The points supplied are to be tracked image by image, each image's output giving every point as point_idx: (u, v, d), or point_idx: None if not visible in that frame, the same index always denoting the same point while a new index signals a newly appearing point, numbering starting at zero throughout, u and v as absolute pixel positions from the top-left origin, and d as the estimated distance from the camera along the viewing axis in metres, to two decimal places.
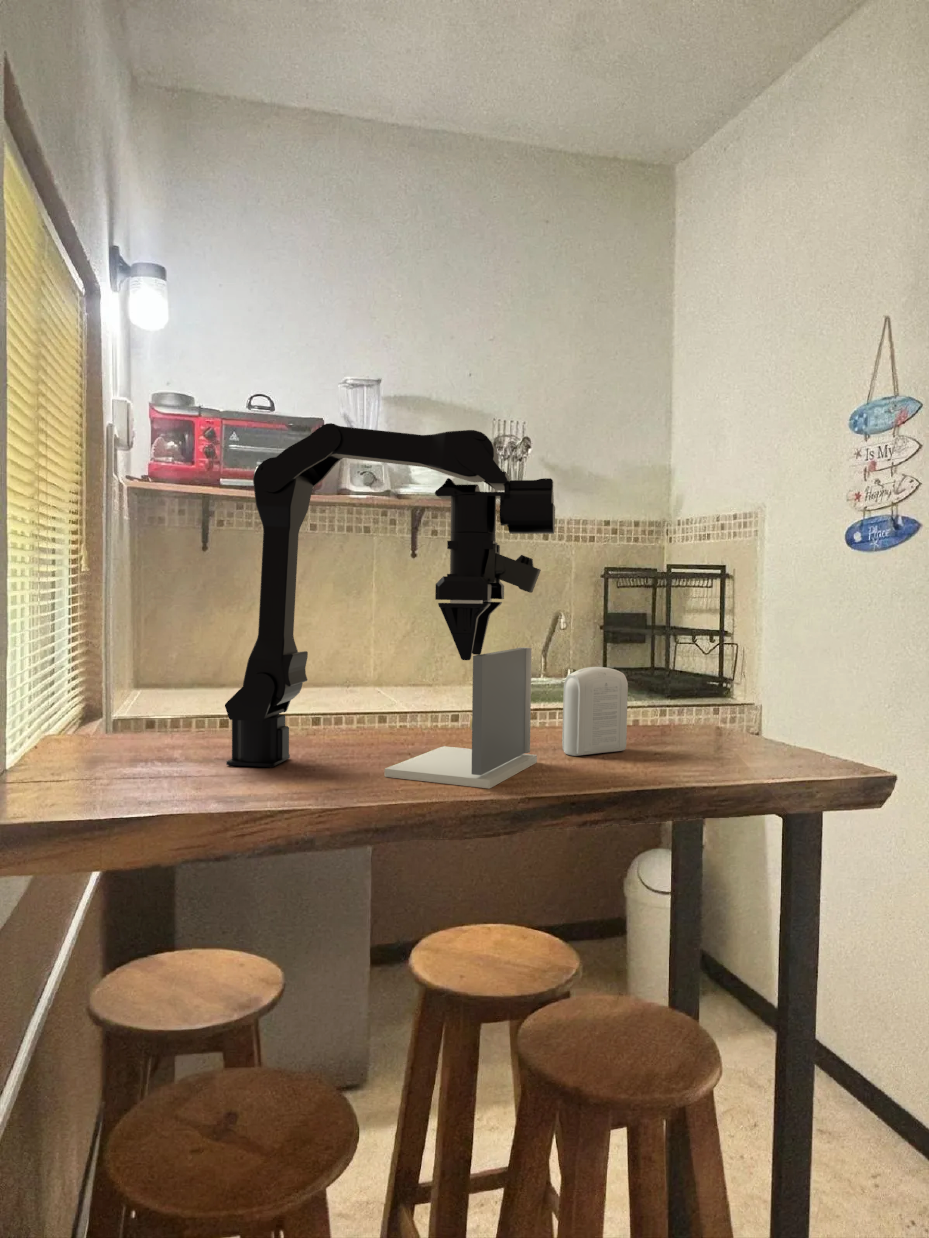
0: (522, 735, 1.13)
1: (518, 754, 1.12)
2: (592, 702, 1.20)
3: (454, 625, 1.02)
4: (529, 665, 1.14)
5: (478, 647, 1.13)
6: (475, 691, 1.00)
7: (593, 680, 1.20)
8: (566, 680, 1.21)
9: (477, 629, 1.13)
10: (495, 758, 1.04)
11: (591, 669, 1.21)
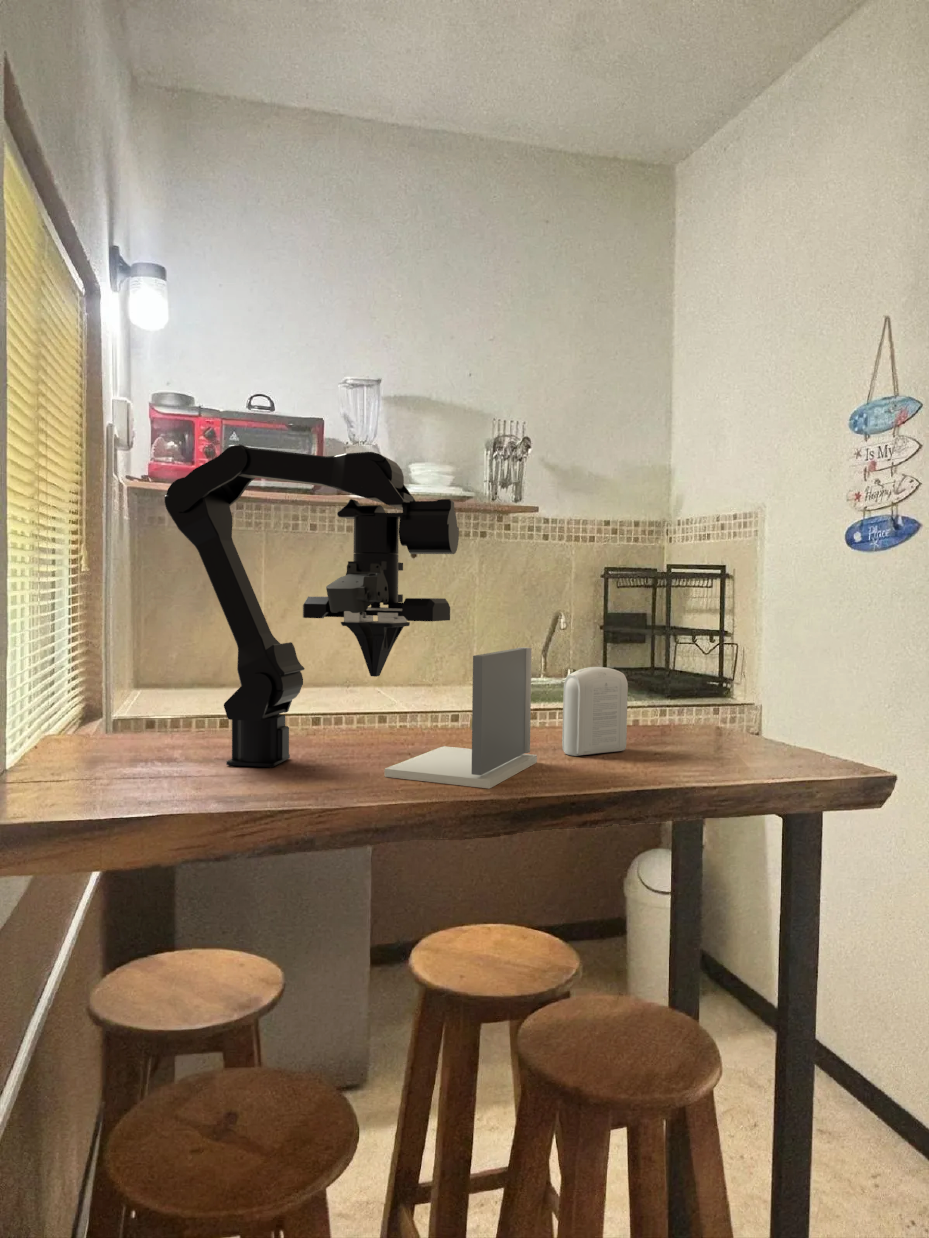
0: (522, 735, 1.13)
1: (518, 754, 1.12)
2: (592, 702, 1.20)
3: None
4: (529, 665, 1.14)
5: None
6: (475, 691, 1.00)
7: (593, 680, 1.20)
8: (566, 680, 1.21)
9: None
10: (495, 758, 1.04)
11: (591, 669, 1.21)
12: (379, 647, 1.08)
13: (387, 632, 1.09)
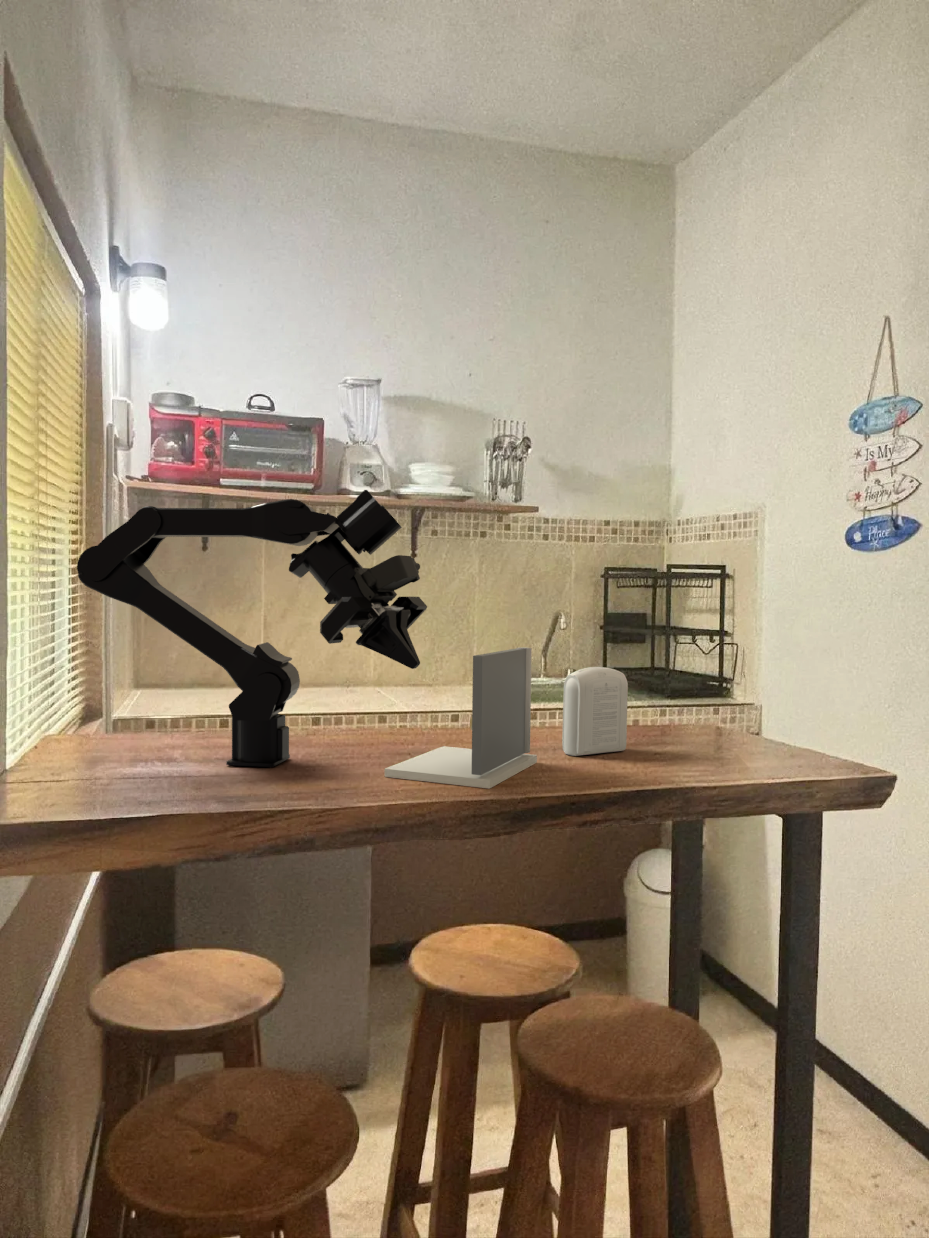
0: (522, 735, 1.13)
1: (518, 754, 1.12)
2: (592, 702, 1.20)
3: (383, 648, 1.08)
4: (529, 665, 1.14)
5: None
6: (475, 691, 1.00)
7: (593, 680, 1.20)
8: (566, 680, 1.21)
9: None
10: (495, 758, 1.04)
11: (591, 669, 1.21)
12: (409, 637, 1.09)
13: None
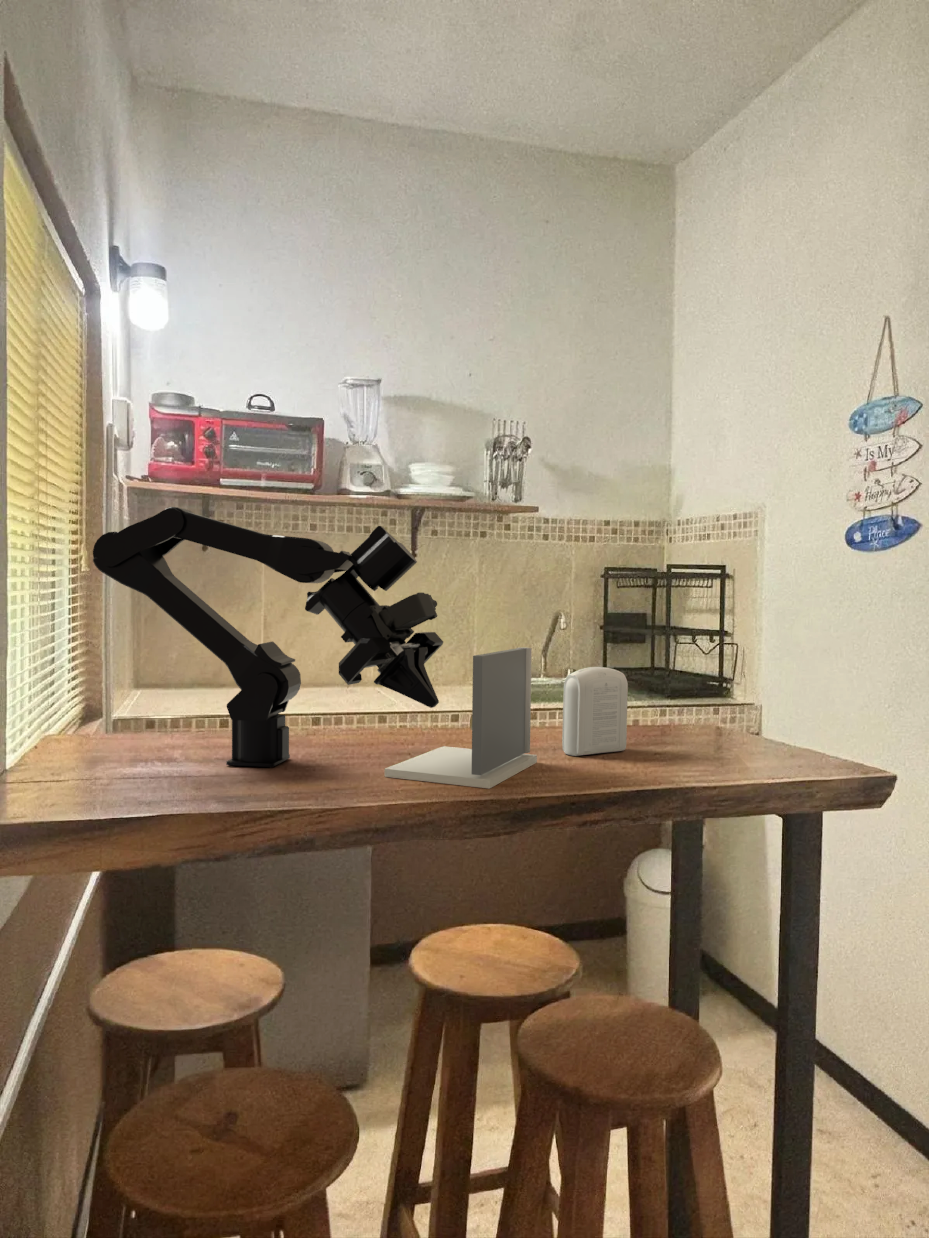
0: (522, 735, 1.13)
1: (518, 754, 1.12)
2: (592, 702, 1.20)
3: (402, 687, 1.07)
4: (529, 665, 1.14)
5: None
6: (475, 691, 1.00)
7: (593, 680, 1.20)
8: (566, 680, 1.21)
9: None
10: (495, 758, 1.04)
11: (591, 669, 1.21)
12: (427, 675, 1.09)
13: None
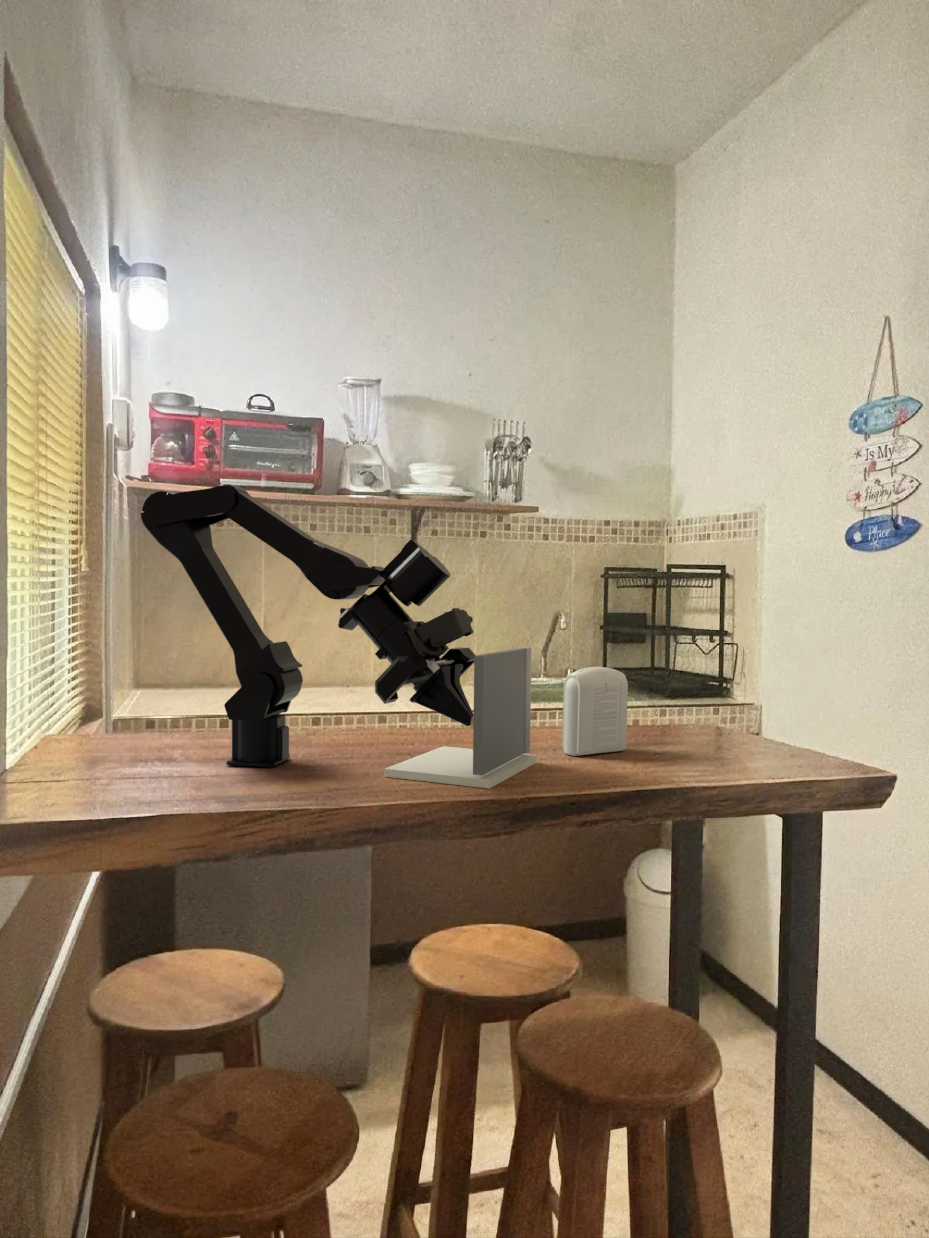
0: (522, 735, 1.13)
1: (518, 754, 1.12)
2: (592, 702, 1.20)
3: (438, 705, 1.05)
4: (529, 665, 1.14)
5: None
6: (476, 691, 1.00)
7: (593, 680, 1.20)
8: (566, 680, 1.21)
9: None
10: (496, 758, 1.04)
11: (591, 669, 1.21)
12: (463, 692, 1.07)
13: None
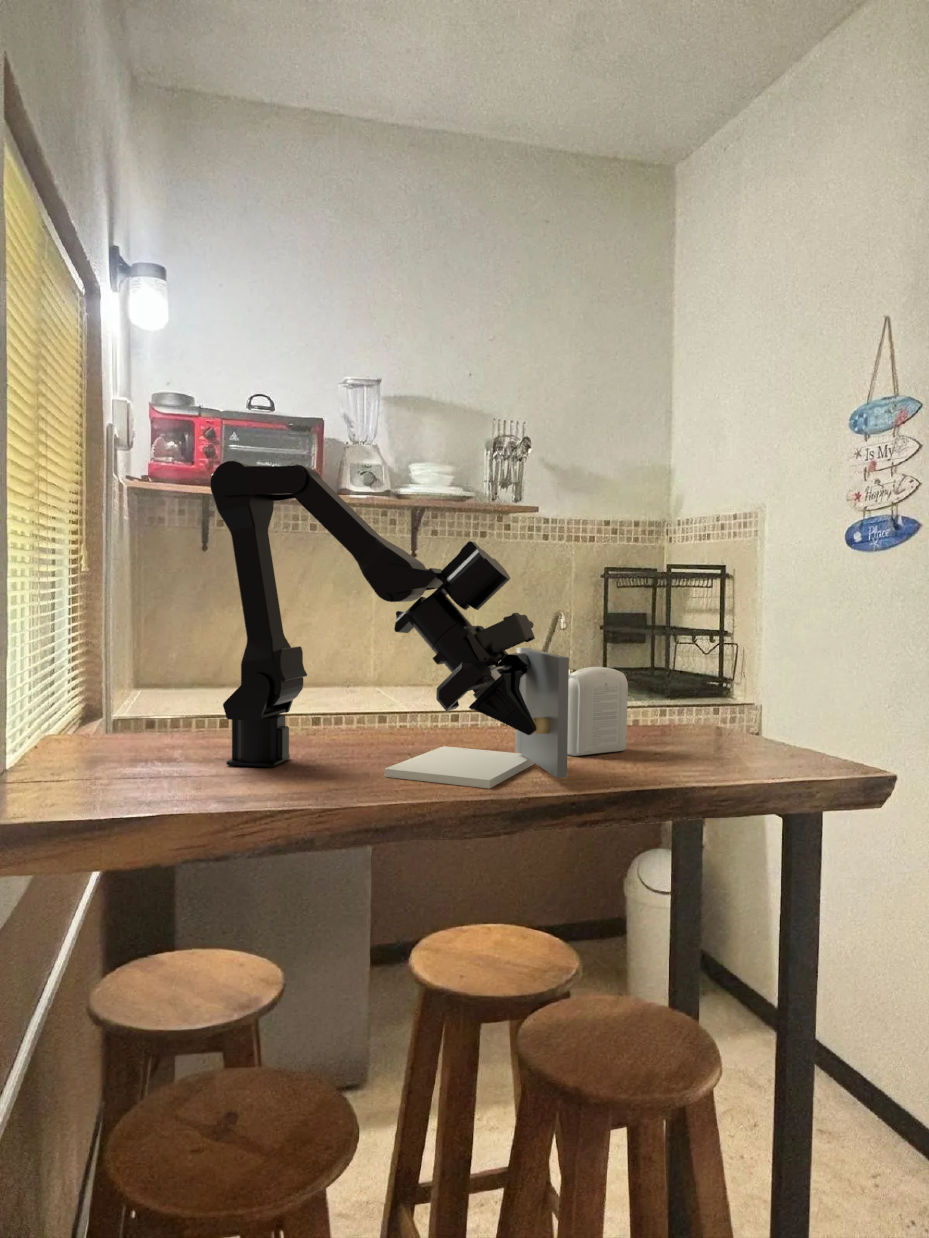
0: None
1: None
2: (592, 702, 1.20)
3: (498, 713, 1.02)
4: None
5: None
6: (561, 693, 0.99)
7: (593, 680, 1.20)
8: None
9: None
10: None
11: (591, 669, 1.21)
12: (523, 700, 1.03)
13: None
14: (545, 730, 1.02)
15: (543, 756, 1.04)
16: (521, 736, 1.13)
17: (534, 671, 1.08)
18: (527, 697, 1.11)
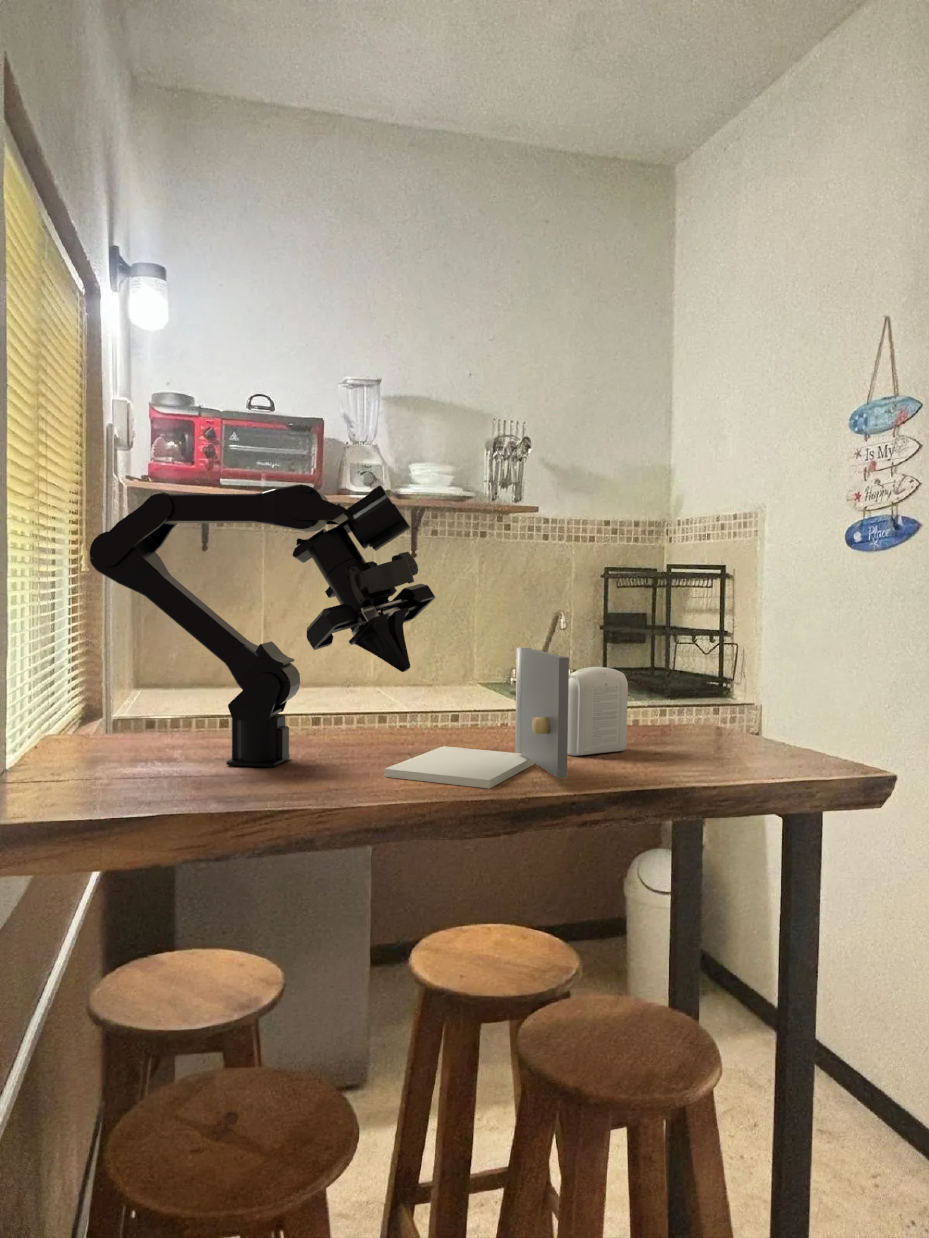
0: None
1: None
2: (592, 702, 1.20)
3: (375, 650, 1.09)
4: None
5: None
6: (561, 693, 0.99)
7: (593, 680, 1.20)
8: None
9: None
10: None
11: (591, 669, 1.21)
12: (403, 637, 1.09)
13: None
14: (545, 730, 1.02)
15: (543, 756, 1.04)
16: (521, 736, 1.13)
17: (534, 671, 1.08)
18: (527, 697, 1.11)
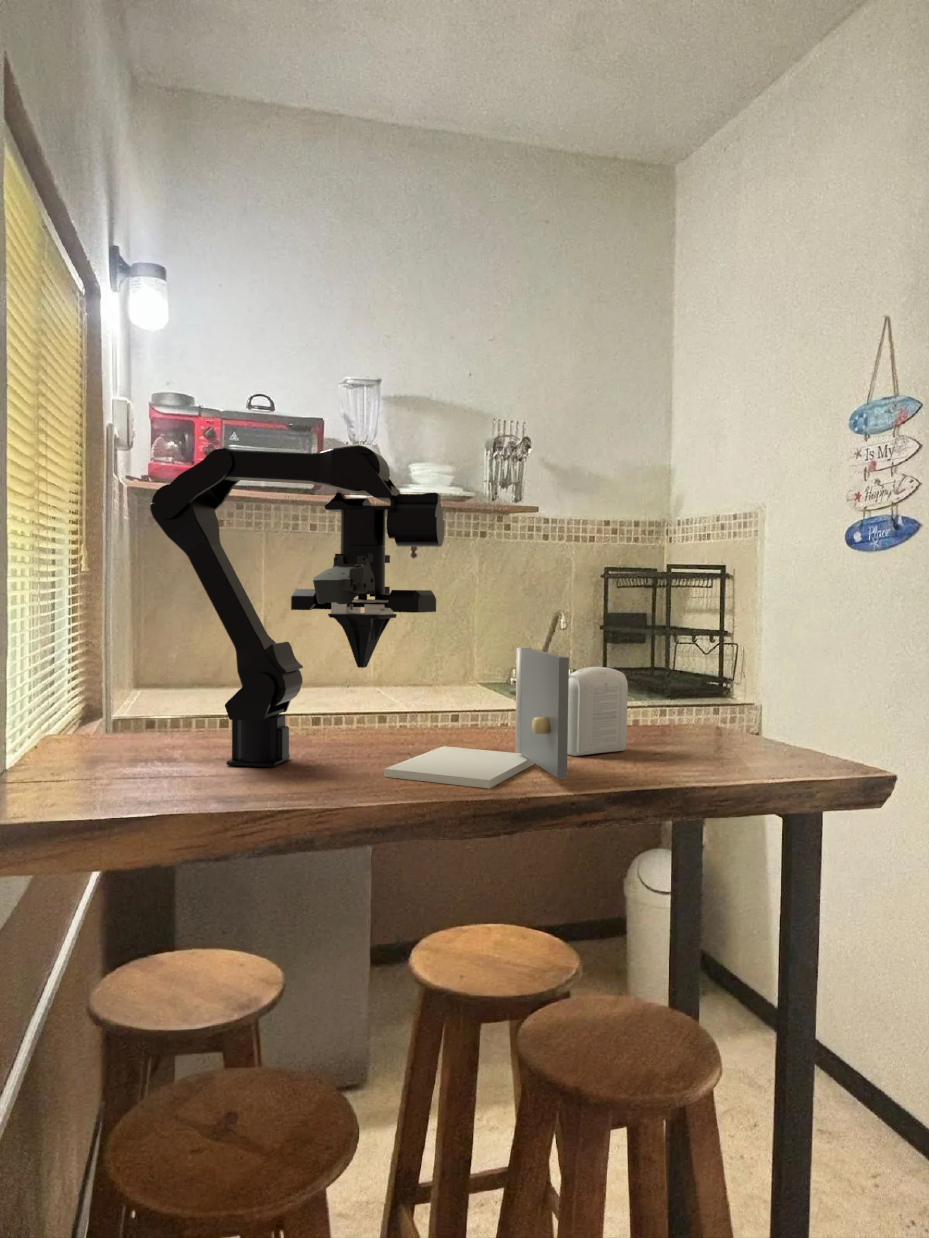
0: None
1: None
2: (592, 702, 1.20)
3: None
4: None
5: None
6: (561, 693, 0.99)
7: (593, 680, 1.20)
8: None
9: None
10: None
11: (591, 669, 1.21)
12: (366, 638, 1.09)
13: (374, 624, 1.10)
14: (545, 730, 1.02)
15: (543, 756, 1.04)
16: (521, 736, 1.13)
17: (534, 671, 1.08)
18: (527, 697, 1.11)
